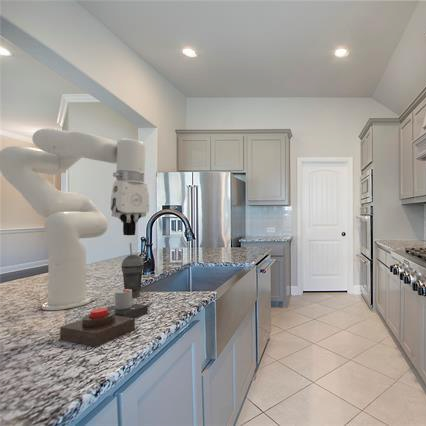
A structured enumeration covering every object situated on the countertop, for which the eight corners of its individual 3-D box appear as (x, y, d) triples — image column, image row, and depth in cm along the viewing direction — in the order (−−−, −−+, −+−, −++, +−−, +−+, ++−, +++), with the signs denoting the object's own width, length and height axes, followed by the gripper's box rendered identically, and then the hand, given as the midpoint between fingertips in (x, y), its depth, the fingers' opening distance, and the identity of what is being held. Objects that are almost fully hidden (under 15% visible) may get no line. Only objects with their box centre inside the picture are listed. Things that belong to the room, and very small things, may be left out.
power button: (86, 318, 71) (86, 311, 71) (101, 313, 74) (101, 307, 74) (96, 320, 70) (96, 313, 70) (111, 315, 73) (111, 308, 73)
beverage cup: (132, 299, 101) (133, 244, 101) (115, 298, 103) (116, 243, 103) (148, 294, 108) (149, 242, 109) (132, 293, 110) (133, 241, 110)
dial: (111, 308, 84) (111, 291, 84) (125, 304, 88) (125, 287, 88) (122, 310, 83) (122, 292, 83) (135, 305, 87) (135, 288, 87)
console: (97, 318, 83) (97, 309, 83) (124, 309, 91) (124, 301, 91) (122, 322, 80) (122, 313, 80) (148, 312, 88) (148, 304, 88)
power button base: (59, 340, 69) (60, 319, 69) (102, 324, 79) (102, 306, 79) (95, 347, 66) (95, 325, 66) (134, 330, 75) (134, 311, 75)
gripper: (115, 174, 83) (113, 237, 83) (159, 180, 97) (158, 234, 97) (97, 175, 85) (96, 236, 85) (143, 181, 99) (142, 233, 99)
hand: (129, 234), depth 91 cm, fingers closed
